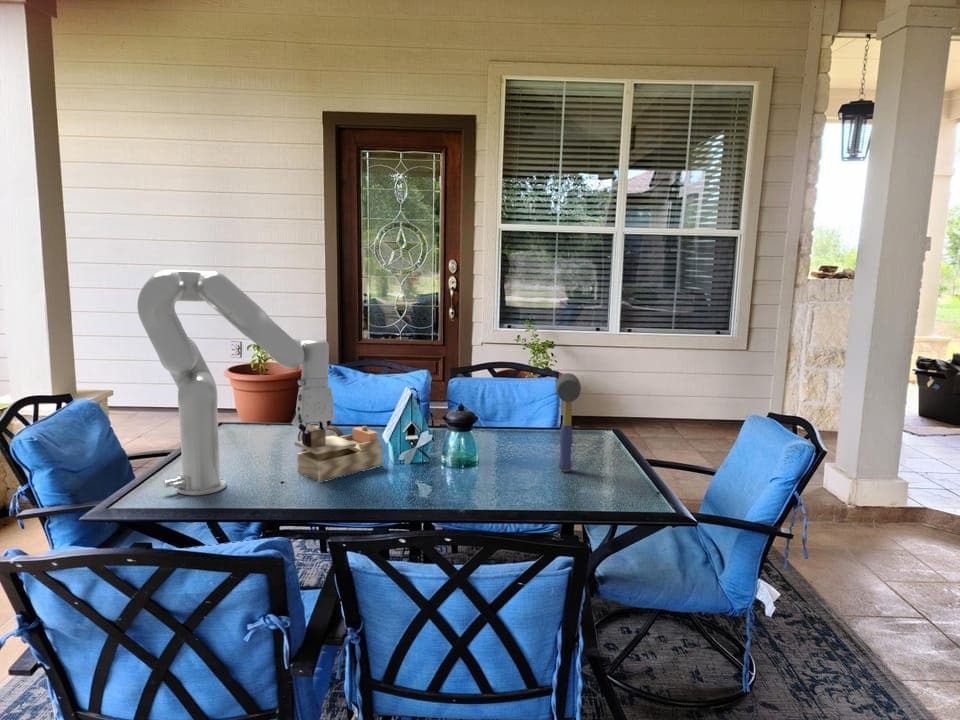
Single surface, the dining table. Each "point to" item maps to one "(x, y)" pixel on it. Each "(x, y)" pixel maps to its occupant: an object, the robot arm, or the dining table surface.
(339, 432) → the tin
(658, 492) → the dining table surface
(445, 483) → the dining table surface
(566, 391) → the rubber mallet
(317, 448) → the lid
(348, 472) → the toolbox
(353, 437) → the peach boxy piece
